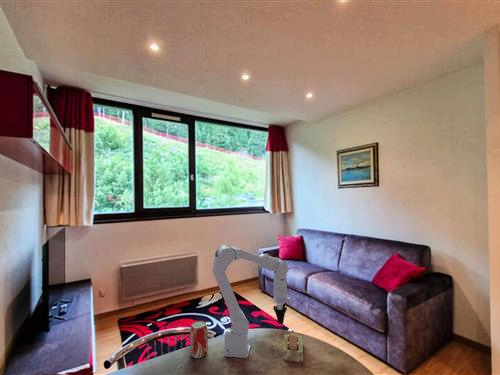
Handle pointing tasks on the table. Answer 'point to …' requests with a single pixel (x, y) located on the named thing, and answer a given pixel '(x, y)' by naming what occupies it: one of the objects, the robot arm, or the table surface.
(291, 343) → the peg
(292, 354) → the hole block
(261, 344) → the table surface
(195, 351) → the soda can
